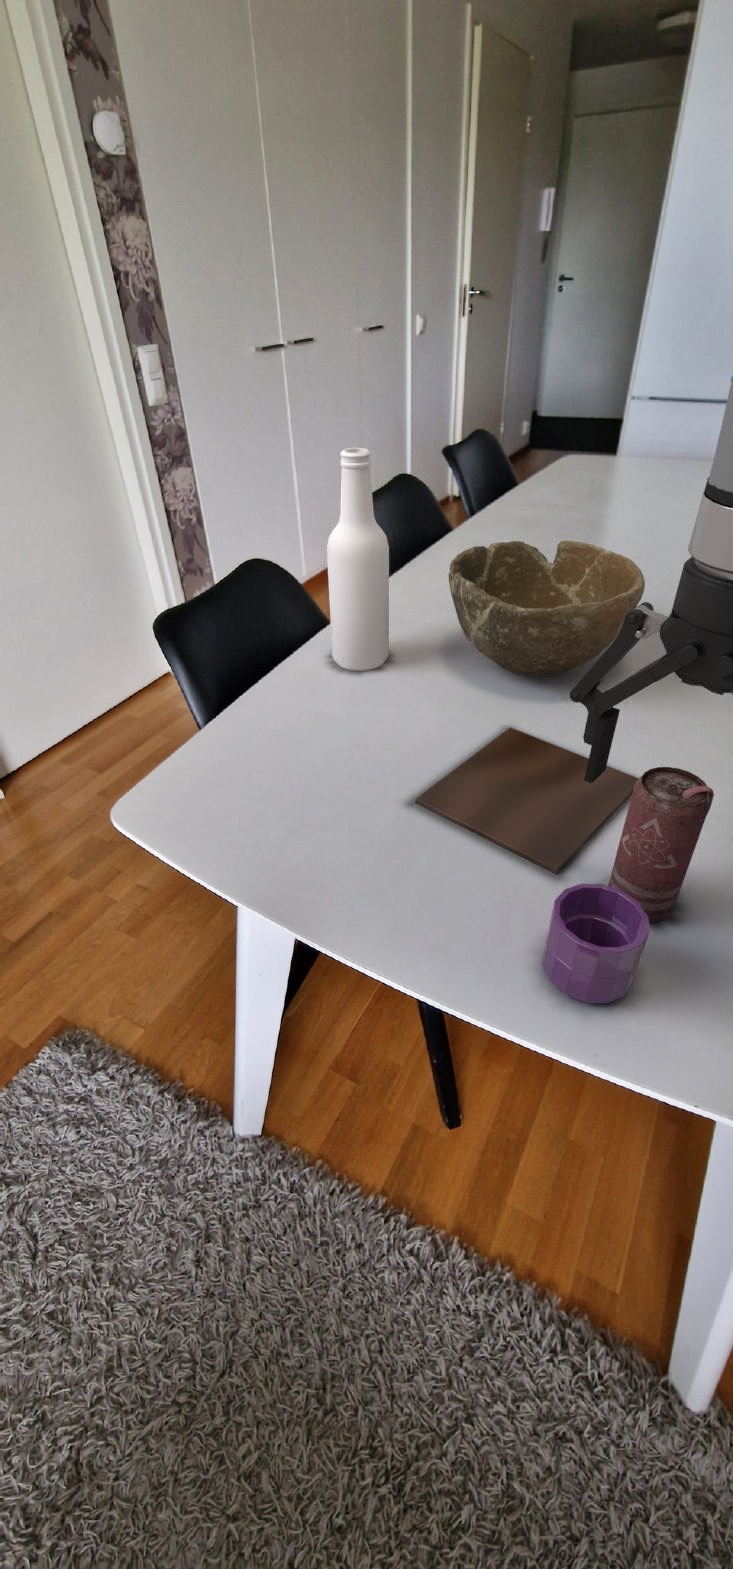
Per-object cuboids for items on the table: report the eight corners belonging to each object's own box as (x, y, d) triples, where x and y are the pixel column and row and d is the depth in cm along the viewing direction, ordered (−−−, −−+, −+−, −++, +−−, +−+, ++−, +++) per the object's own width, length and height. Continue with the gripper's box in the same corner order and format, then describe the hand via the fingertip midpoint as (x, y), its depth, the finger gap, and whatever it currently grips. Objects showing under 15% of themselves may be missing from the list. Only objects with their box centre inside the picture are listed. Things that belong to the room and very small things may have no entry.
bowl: (445, 623, 120) (449, 534, 111) (606, 627, 118) (624, 536, 109) (442, 704, 98) (448, 601, 89) (641, 711, 95) (667, 606, 87)
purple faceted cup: (645, 967, 61) (664, 911, 57) (605, 1024, 57) (623, 968, 52) (568, 925, 65) (581, 870, 61) (526, 975, 61) (536, 920, 56)
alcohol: (394, 669, 107) (395, 455, 89) (337, 675, 105) (326, 460, 88) (382, 644, 114) (381, 442, 96) (328, 649, 112) (317, 445, 94)
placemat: (641, 783, 82) (642, 779, 82) (555, 874, 71) (556, 869, 70) (509, 731, 92) (510, 727, 92) (415, 802, 80) (415, 798, 80)
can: (685, 924, 65) (729, 806, 57) (615, 924, 65) (649, 806, 57) (663, 878, 70) (701, 763, 61) (599, 878, 70) (628, 763, 62)
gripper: (973, 592, 43) (838, 846, 56) (600, 516, 57) (559, 736, 70) (953, 632, 39) (811, 898, 52) (553, 539, 52) (519, 769, 65)
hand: (667, 806), depth 61 cm, fingers open, 13 cm apart
